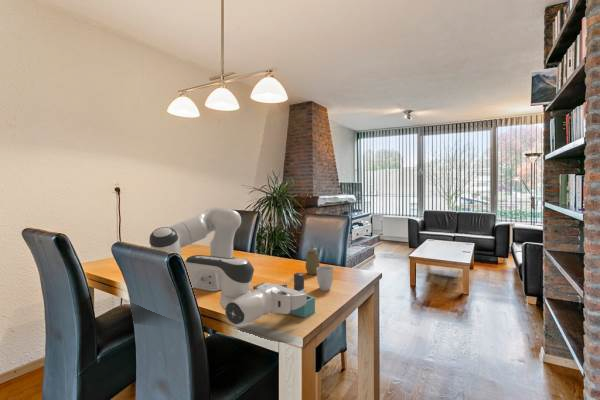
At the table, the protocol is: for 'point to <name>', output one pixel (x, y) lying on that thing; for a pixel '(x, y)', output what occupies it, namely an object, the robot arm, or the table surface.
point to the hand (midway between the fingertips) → (294, 288)
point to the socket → (305, 308)
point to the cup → (325, 277)
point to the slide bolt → (298, 281)
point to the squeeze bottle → (312, 260)
